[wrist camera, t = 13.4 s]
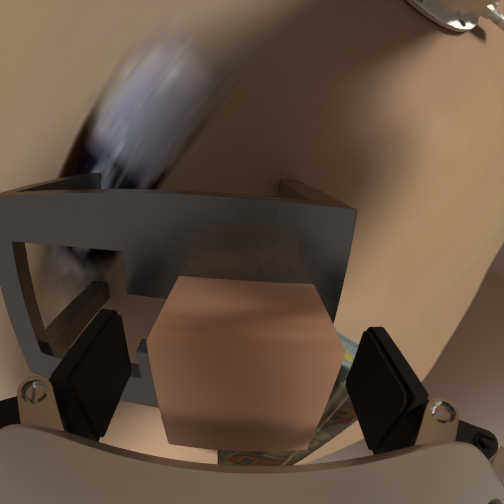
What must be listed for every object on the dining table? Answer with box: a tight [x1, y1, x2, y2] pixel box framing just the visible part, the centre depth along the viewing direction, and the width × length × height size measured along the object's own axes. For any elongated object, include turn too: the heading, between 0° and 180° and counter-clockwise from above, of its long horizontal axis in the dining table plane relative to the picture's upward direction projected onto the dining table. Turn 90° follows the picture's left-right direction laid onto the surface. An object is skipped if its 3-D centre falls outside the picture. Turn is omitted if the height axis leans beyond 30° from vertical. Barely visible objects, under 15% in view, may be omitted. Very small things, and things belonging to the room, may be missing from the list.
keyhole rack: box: [0, 173, 357, 408], centre depth 16 cm, size 17×11×11 cm, turn 85°
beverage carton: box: [218, 332, 359, 466], centre depth 24 cm, size 8×19×7 cm, turn 146°
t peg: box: [146, 276, 346, 452], centre depth 12 cm, size 5×5×10 cm
